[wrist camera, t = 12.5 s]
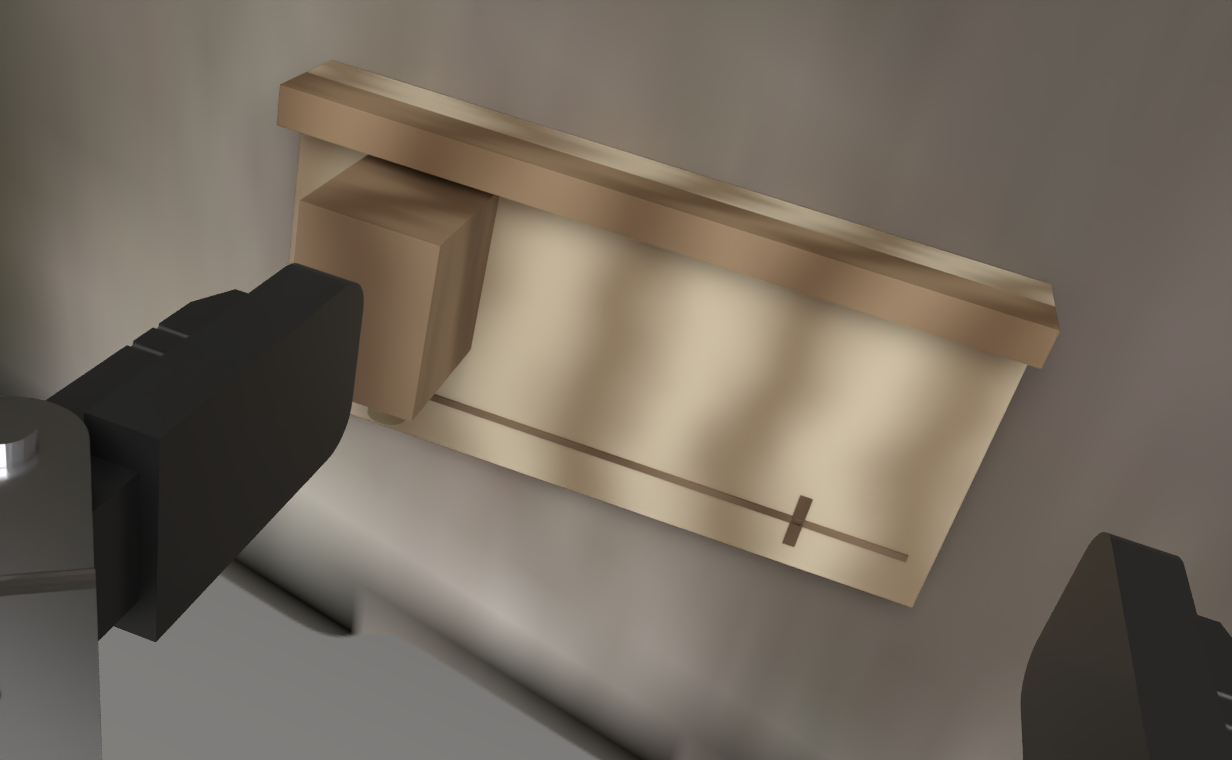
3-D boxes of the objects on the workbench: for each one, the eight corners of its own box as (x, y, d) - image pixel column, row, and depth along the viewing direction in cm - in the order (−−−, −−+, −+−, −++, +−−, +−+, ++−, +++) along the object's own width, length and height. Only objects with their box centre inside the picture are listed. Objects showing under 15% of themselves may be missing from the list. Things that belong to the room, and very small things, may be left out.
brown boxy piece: (500, 188, 43) (440, 246, 38) (458, 415, 48) (399, 492, 43) (376, 149, 44) (299, 200, 39) (347, 377, 49) (276, 449, 44)
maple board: (1051, 284, 42) (1059, 330, 38) (913, 578, 49) (910, 639, 45) (331, 60, 45) (279, 84, 41) (299, 368, 52) (253, 410, 48)
